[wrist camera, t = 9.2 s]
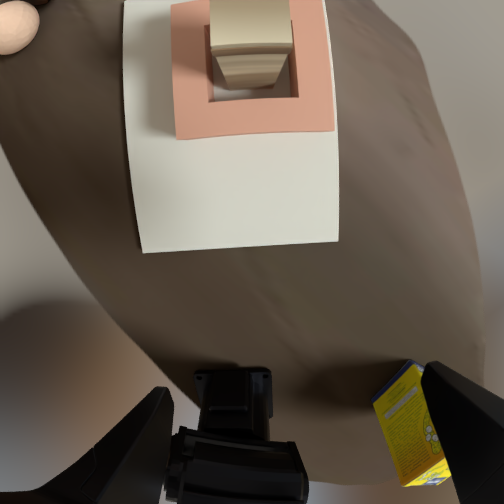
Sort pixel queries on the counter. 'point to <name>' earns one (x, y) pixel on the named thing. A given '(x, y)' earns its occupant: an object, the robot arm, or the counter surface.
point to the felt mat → (218, 158)
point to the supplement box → (410, 429)
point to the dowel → (250, 40)
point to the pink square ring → (250, 110)
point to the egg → (17, 26)
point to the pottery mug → (35, 2)
